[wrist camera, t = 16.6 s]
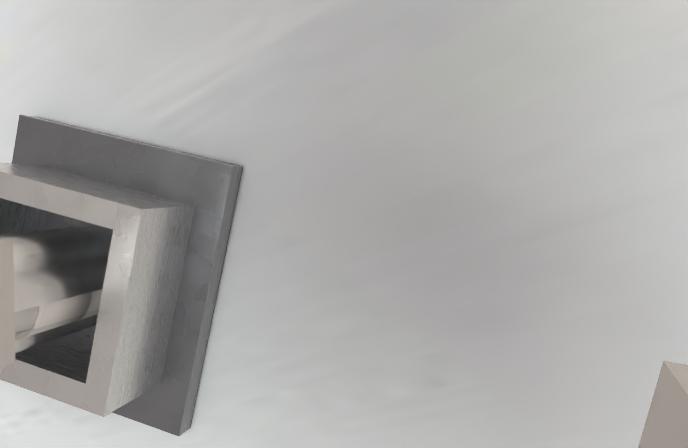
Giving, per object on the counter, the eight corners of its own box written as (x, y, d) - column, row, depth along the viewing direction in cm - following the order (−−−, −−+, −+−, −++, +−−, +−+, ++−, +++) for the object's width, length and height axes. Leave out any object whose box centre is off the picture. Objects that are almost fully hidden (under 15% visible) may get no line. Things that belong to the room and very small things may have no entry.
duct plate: (35, 116, 44) (-57, 103, 37) (242, 166, 40) (185, 162, 33) (-4, 359, 46) (-99, 392, 39) (190, 427, 43) (125, 477, 35)
